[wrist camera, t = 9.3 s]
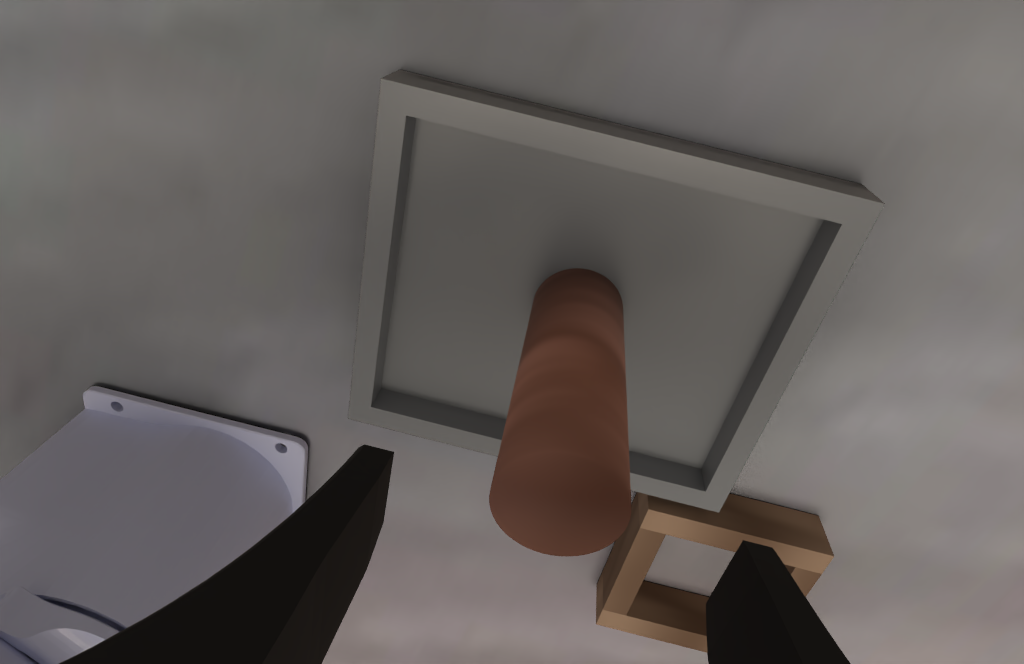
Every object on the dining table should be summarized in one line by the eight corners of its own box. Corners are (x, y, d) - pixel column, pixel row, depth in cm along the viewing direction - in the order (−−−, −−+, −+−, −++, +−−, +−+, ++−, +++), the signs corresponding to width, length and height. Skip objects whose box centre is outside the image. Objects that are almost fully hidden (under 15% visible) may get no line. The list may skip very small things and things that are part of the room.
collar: (596, 584, 28) (596, 624, 27) (645, 472, 25) (648, 509, 23) (748, 623, 28) (756, 665, 27) (818, 515, 25) (834, 556, 23)
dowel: (524, 336, 22) (478, 536, 14) (544, 258, 20) (504, 436, 13) (608, 357, 22) (608, 569, 14) (634, 281, 20) (650, 473, 13)
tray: (364, 390, 25) (347, 418, 23) (399, 69, 19) (381, 78, 17) (711, 478, 25) (718, 512, 23) (862, 184, 19) (885, 203, 17)
